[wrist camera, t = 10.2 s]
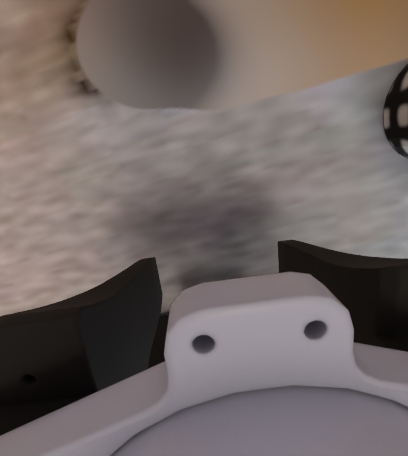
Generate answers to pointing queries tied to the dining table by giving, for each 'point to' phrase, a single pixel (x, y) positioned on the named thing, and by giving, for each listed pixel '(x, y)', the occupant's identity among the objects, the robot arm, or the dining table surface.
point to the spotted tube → (398, 114)
